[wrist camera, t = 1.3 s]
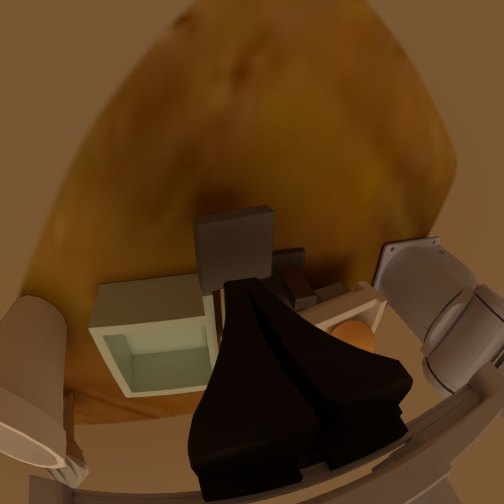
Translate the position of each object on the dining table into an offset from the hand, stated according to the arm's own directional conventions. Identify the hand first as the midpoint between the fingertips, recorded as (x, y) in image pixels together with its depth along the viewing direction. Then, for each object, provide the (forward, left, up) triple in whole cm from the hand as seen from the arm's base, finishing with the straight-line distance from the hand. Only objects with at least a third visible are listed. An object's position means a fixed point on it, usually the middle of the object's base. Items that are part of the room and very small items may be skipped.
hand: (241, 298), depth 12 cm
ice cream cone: (+19, +21, -10) cm, 30 cm away
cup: (+5, +10, -10) cm, 15 cm away
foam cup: (+17, +9, -10) cm, 22 cm away
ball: (-10, +10, -3) cm, 14 cm away
